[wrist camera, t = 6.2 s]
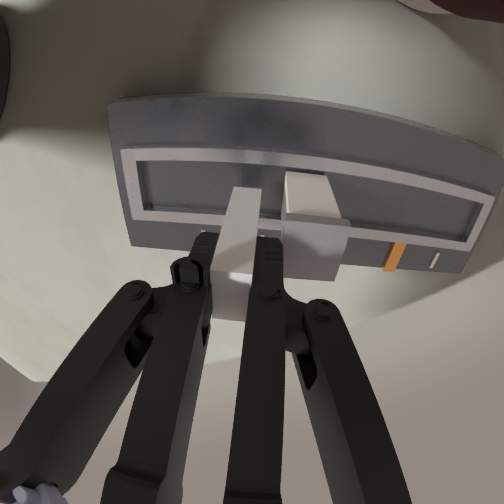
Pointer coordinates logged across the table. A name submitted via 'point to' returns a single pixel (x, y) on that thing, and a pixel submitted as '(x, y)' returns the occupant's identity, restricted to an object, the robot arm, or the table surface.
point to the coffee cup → (462, 8)
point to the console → (303, 161)
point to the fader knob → (311, 228)
